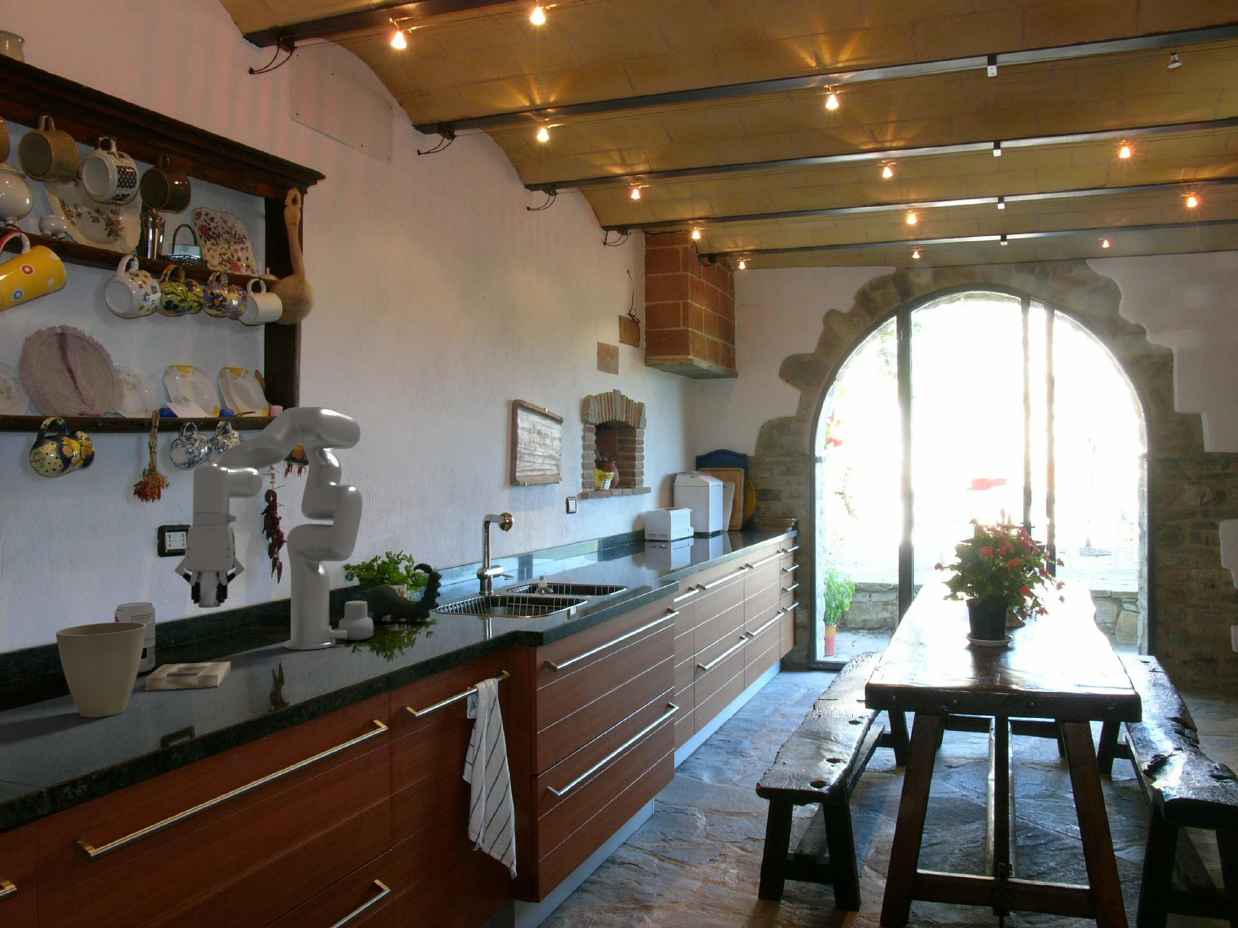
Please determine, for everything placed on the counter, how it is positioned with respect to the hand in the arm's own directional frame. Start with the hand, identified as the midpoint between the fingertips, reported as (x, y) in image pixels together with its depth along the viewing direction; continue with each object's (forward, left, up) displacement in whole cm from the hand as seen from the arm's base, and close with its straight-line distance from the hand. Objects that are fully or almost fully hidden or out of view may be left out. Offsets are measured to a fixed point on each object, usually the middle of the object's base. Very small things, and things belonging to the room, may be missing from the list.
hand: (209, 601), depth 209 cm
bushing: (0, 0, -1) cm, 1 cm away
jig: (+3, +5, -16) cm, 17 cm away
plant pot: (+13, +30, -16) cm, 37 cm away
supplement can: (+18, -10, -16) cm, 26 cm away
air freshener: (-29, -40, -17) cm, 52 cm away
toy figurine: (-40, -67, -17) cm, 80 cm away
